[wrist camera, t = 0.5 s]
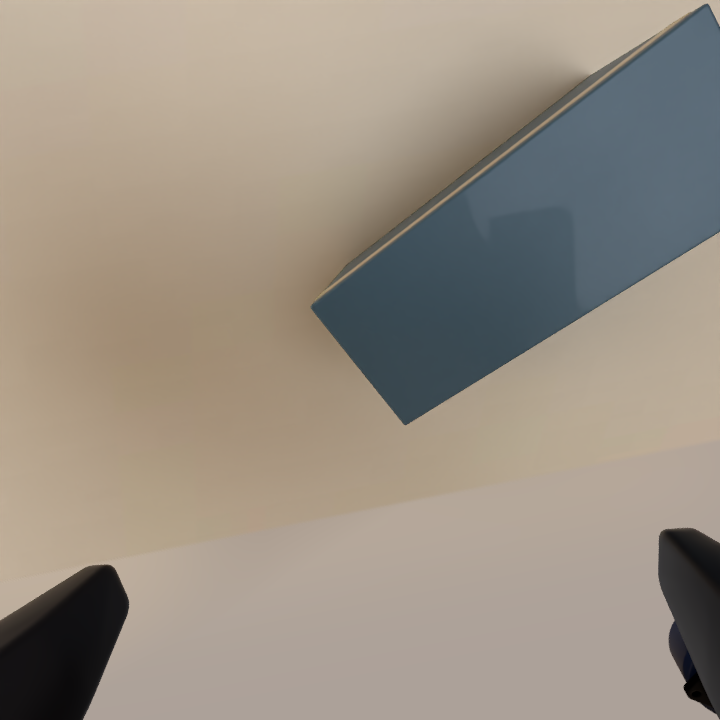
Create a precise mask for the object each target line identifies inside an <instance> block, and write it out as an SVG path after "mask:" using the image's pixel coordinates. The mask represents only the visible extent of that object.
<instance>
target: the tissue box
mask: <svg viewBox="0 0 720 720" xmlns="http://www.w3.org/2000/svg"><path fill="white" fill-rule="evenodd" d="M718 232H720V26H719V24H718V22H717V20H716V18H715V16H714V14H713V12H712V10H711V8H710V6H709V5H708V4H704V5H702V6H701V7H699V8H698V9H696V10H694V11H693V12H690V13H688V14H686V15H685V16H683V17H681V18H680V19H678V20H677V21H675V22H673V23H672V24H670V25H669V26H668V27H666V28H665V29H664V30H662V31H661V32H659V33H658V34H656V35H654V36H653V37H651V38H650V39H648V40H646V41H645V42H643V43H642V44H640V45H638V46H637V47H635V48H634V49H632V50H630V51H629V52H627V53H626V54H624V55H622V56H621V57H619V58H618V59H616V60H614V61H613V62H611V63H610V64H608V65H606V66H605V67H603V68H602V69H600V70H598V71H597V72H595V73H594V74H592V75H591V76H589V77H588V78H587V79H586V80H584V81H583V82H582V83H580V84H579V85H578V86H577V87H575V88H574V89H573V90H571V91H570V92H569V93H568V94H566V95H565V96H564V97H562V98H561V99H560V100H559V101H557V102H556V103H555V104H553V105H552V106H551V107H549V108H548V109H547V110H546V111H544V112H543V113H542V114H540V115H539V116H538V117H537V118H535V119H534V120H533V121H531V122H530V123H529V124H528V125H526V126H525V127H524V128H522V129H521V130H520V131H519V132H517V133H516V134H515V135H513V136H512V137H511V138H510V139H508V140H507V141H506V142H504V143H503V144H502V145H501V146H499V147H498V148H497V149H495V150H494V151H493V152H492V153H490V154H489V155H488V156H486V157H485V158H484V159H483V160H481V161H480V162H479V163H477V164H476V165H475V166H474V167H472V168H471V169H470V170H468V171H467V172H466V173H465V174H463V175H462V176H461V177H459V178H458V179H457V180H456V181H454V182H453V183H452V184H450V185H449V186H448V187H447V188H445V189H444V190H443V191H441V192H440V193H439V194H438V195H436V196H435V197H434V198H432V199H431V200H430V201H429V202H427V203H426V204H425V205H423V206H422V207H421V208H420V209H418V210H417V211H416V212H414V213H413V214H412V215H410V216H409V217H408V218H407V219H405V220H404V221H403V222H401V223H400V224H399V225H398V226H396V227H395V228H394V229H392V230H391V231H390V232H389V233H387V234H386V235H385V236H383V237H382V238H381V239H380V240H378V241H377V242H376V243H374V244H373V245H372V246H371V247H369V248H368V249H367V250H365V251H364V252H363V253H362V254H360V255H359V256H358V257H356V258H355V259H354V260H353V261H351V262H350V263H349V264H347V265H346V266H345V267H344V269H343V270H342V271H341V272H340V273H339V274H338V275H337V277H336V278H335V279H334V280H333V281H332V282H331V284H330V285H329V286H328V287H327V288H326V289H325V290H324V291H323V292H322V293H321V294H320V295H319V296H318V297H317V298H316V299H315V301H314V303H313V304H312V305H311V309H312V310H313V312H314V313H315V314H316V315H317V317H318V318H319V319H320V320H321V322H322V323H323V324H324V325H325V327H326V328H327V329H328V330H329V332H330V333H331V334H332V335H333V337H334V338H335V339H336V340H337V342H338V343H339V344H340V345H341V347H342V348H343V349H344V350H345V352H346V353H347V354H348V355H349V357H350V358H351V359H352V360H353V362H354V363H355V364H356V365H357V367H358V368H359V369H360V370H361V372H362V373H363V374H364V375H365V377H366V378H367V379H368V380H369V381H370V383H371V384H372V385H373V386H374V388H375V389H376V390H377V391H378V393H379V394H380V395H381V396H382V398H383V399H384V400H385V401H386V403H387V404H388V405H389V406H390V408H391V409H392V410H393V411H394V413H395V414H396V415H397V416H398V418H399V419H400V420H401V421H402V423H403V424H404V425H407V424H409V423H410V422H412V421H413V420H415V419H417V418H418V417H420V416H422V415H423V414H425V413H426V412H428V411H430V410H431V409H433V408H435V407H436V406H438V405H439V404H441V403H443V402H444V401H446V400H447V399H449V398H451V397H452V396H454V395H456V394H457V393H459V392H460V391H462V390H464V389H465V388H467V387H469V386H470V385H472V384H473V383H475V382H477V381H478V380H480V379H482V378H483V377H485V376H486V375H488V374H490V373H491V372H493V371H495V370H496V369H498V368H499V367H501V366H503V365H504V364H506V363H508V362H509V361H511V360H512V359H514V358H516V357H517V356H519V355H521V354H522V353H524V352H525V351H527V350H529V349H530V348H532V347H533V346H535V345H537V344H538V343H540V342H542V341H543V340H545V339H546V338H548V337H550V336H551V335H553V334H555V333H556V332H558V331H559V330H561V329H563V328H564V327H566V326H568V325H569V324H571V323H572V322H574V321H576V320H577V319H579V318H581V317H582V316H584V315H585V314H587V313H589V312H590V311H592V310H594V309H595V308H597V307H598V306H600V305H602V304H603V303H605V302H607V301H608V300H610V299H611V298H613V297H615V296H616V295H618V294H619V293H621V292H623V291H624V290H626V289H628V288H629V287H631V286H632V285H634V284H636V283H637V282H639V281H641V280H642V279H644V278H645V277H647V276H649V275H650V274H652V273H654V272H655V271H657V270H658V269H660V268H662V267H663V266H665V265H667V264H668V263H670V262H671V261H673V260H675V259H676V258H678V257H680V256H681V255H683V254H684V253H686V252H688V251H689V250H691V249H693V248H694V247H696V246H697V245H699V244H701V243H702V242H704V241H705V240H707V239H709V238H710V237H712V236H714V235H715V234H717V233H718Z"/></svg>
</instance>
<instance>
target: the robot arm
mask: <svg viewBox="0 0 720 720" xmlns="http://www.w3.org/2000/svg"><path fill="white" fill-rule="evenodd" d="M658 575H659V581H660V586H661V589H662V591H663V594H664V596H665V599H666V601H667V603H668V606H669V608H670V610H671V612H672V615H673V617H674V619H675V622H676V624H677V626H678V629H679V631H680V633H681V636H682V638H683V640H684V642H685V645H686V647H687V649H688V652H689V654H690V656H691V659H692V661H693V663H694V665H695V668H696V670H697V672H696V673H695V674H694V675H693V676H692V677H691V678H690V679H689V680H688V681H687V682H686V683H685V685H684V686H683V688H684V691H685V693H686V694H687V696H688V698H690V699H691V700H694V701H697V702H699V703H702V704H704V705H707V706H709V707H712V708H714V710H715V712H716V713H717V715H718V717H719V719H720V543H719V542H717V541H715V540H713V539H712V538H710V537H708V536H706V535H705V534H703V533H701V532H699V531H697V530H695V529H693V528H677V529H665V530H663V531H662V532H661V533H660V536H659V565H658ZM128 609H129V600H128V597H127V594H126V593H125V590H124V588H123V585H122V583H121V581H120V578H119V576H118V574H117V572H116V570H115V568H114V567H112V566H111V565H92V566H88V567H86V568H84V569H82V570H81V571H79V572H77V573H76V574H74V575H73V576H71V577H69V578H68V579H66V580H65V581H63V582H61V583H60V584H58V585H57V586H55V587H53V588H52V589H50V590H48V591H47V592H45V593H44V594H42V595H40V596H39V597H37V598H36V599H34V600H33V601H31V602H29V603H28V604H26V605H25V606H23V607H21V608H20V609H18V610H17V611H15V612H13V613H12V614H10V615H8V616H7V617H5V618H4V619H2V620H0V720H83V718H84V716H85V714H86V712H87V710H88V708H89V706H90V704H91V701H92V699H93V696H94V694H95V692H96V689H97V687H98V685H99V682H100V680H101V677H102V675H103V672H104V670H105V667H106V665H107V663H108V660H109V658H110V655H111V653H112V651H113V648H114V645H115V643H116V641H117V639H118V636H119V634H120V631H121V629H122V626H123V624H124V621H125V619H126V617H127V614H128Z"/></svg>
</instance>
